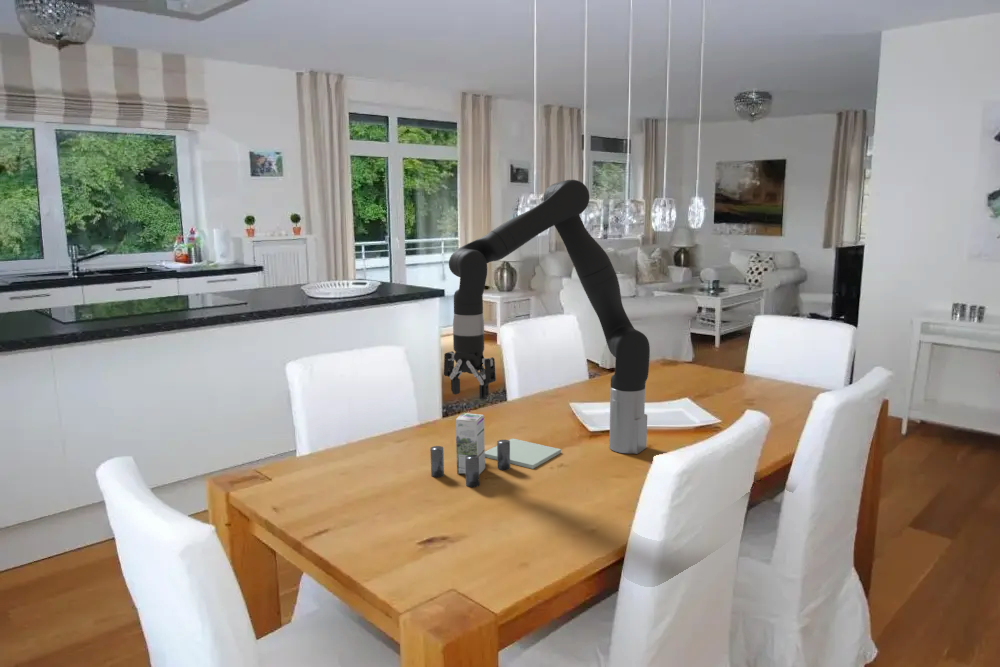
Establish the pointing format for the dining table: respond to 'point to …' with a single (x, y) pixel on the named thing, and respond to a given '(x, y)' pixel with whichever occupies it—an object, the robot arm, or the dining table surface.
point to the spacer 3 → (503, 454)
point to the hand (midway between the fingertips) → (469, 396)
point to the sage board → (526, 453)
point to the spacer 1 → (437, 461)
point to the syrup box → (470, 440)
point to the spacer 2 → (472, 470)
